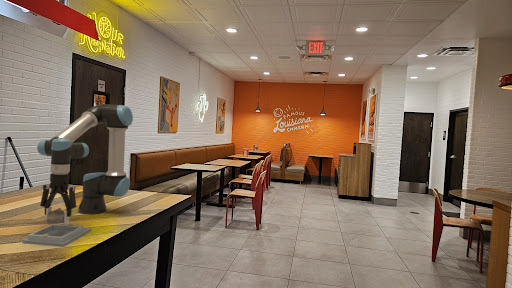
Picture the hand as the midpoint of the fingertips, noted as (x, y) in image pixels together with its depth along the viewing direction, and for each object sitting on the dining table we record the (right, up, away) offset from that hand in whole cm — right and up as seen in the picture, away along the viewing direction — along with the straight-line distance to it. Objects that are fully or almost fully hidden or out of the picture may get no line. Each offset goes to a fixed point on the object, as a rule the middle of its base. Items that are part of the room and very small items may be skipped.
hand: (57, 222), depth 146 cm
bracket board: (-1, -7, +2) cm, 7 cm away
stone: (-1, 0, +1) cm, 1 cm away
